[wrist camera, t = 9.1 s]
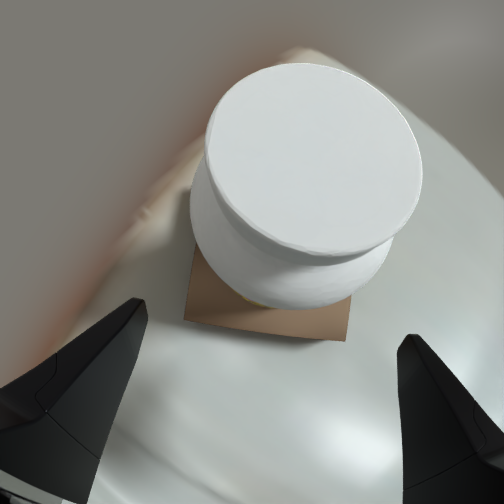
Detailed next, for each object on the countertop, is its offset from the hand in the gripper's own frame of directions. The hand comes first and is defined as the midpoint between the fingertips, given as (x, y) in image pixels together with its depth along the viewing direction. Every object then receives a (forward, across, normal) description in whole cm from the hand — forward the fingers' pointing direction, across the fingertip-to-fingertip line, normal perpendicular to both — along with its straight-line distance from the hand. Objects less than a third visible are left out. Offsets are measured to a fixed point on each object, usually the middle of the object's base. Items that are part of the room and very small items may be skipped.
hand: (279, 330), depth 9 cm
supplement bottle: (+9, 0, +3) cm, 9 cm away
